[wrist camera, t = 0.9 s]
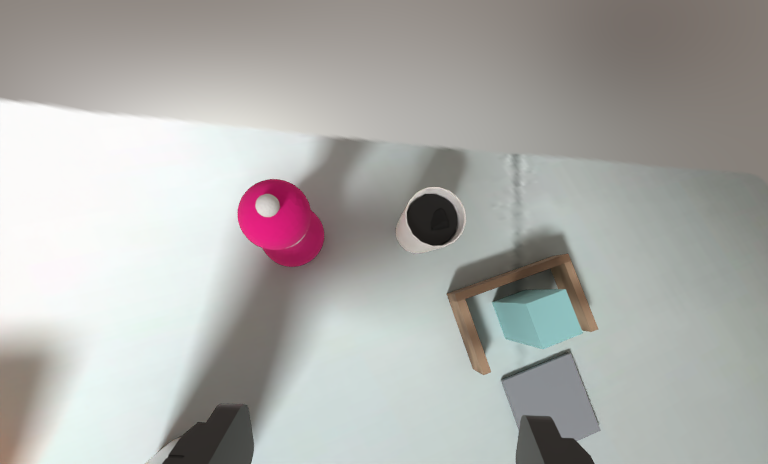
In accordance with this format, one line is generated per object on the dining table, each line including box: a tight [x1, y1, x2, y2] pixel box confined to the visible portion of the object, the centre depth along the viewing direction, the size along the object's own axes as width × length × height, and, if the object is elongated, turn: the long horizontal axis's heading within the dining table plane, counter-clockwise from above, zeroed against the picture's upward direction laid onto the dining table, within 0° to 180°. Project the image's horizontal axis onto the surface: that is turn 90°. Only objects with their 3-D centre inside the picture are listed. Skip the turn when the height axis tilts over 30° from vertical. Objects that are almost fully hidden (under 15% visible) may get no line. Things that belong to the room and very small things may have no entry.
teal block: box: [492, 289, 583, 349], centre depth 44 cm, size 5×5×9 cm
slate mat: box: [501, 353, 600, 441], centre depth 47 cm, size 10×10×1 cm
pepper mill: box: [238, 179, 324, 267], centre depth 37 cm, size 7×7×20 cm
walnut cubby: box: [447, 254, 598, 375], centre depth 47 cm, size 10×16×4 cm, turn 109°
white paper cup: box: [396, 187, 466, 254], centre depth 44 cm, size 7×7×10 cm
